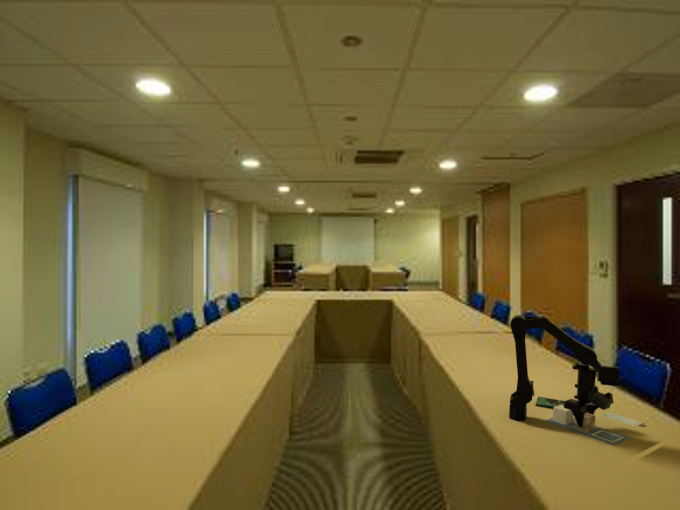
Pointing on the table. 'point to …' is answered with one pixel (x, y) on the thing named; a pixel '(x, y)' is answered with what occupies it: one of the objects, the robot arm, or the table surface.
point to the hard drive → (623, 419)
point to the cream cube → (562, 415)
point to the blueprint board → (594, 433)
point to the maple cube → (586, 423)
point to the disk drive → (548, 402)
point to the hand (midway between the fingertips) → (584, 425)
